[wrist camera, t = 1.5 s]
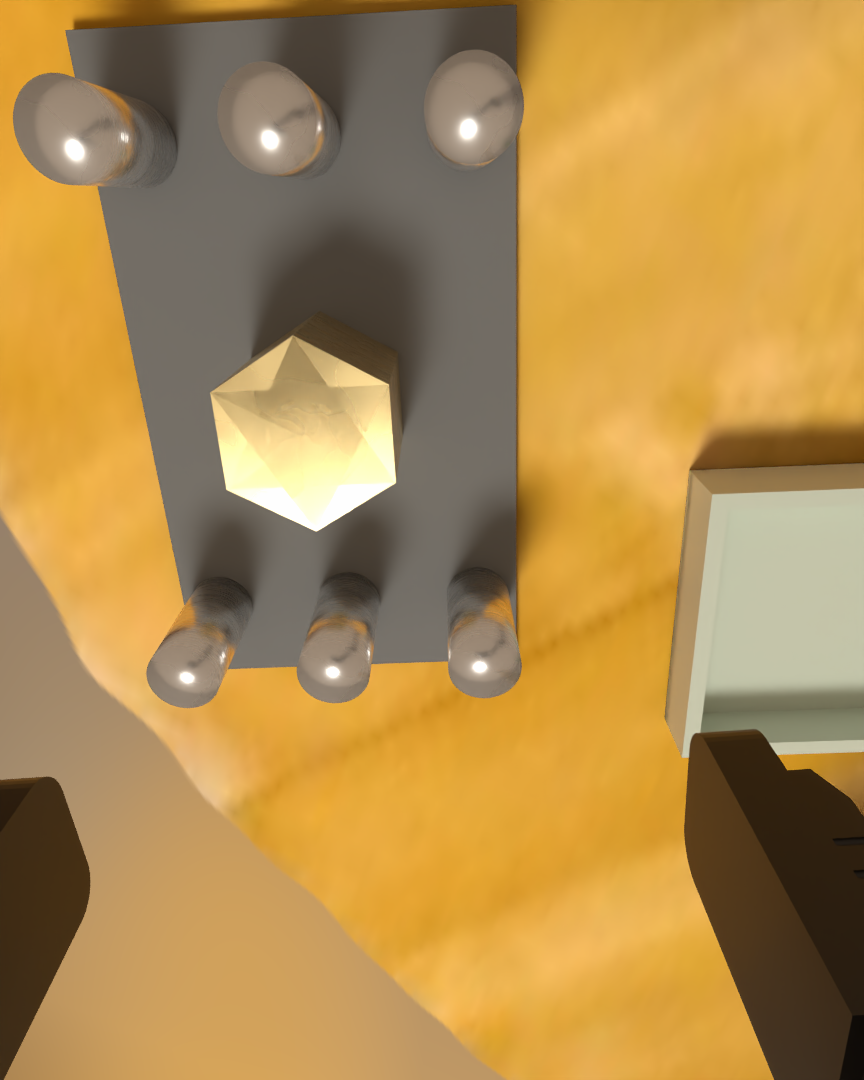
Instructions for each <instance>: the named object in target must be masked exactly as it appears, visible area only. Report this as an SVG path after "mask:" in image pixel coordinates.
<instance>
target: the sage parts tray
mask: <svg viewBox="0 0 864 1080" xmlns="http://www.w3.org/2000/svg"><path fill="white" fill-rule="evenodd" d="M665 720H666V722H667V725H668V727H669V729H670V732H671V734H672V736H673V738H674V741H675V743H676V745H677V748H678V750H679V752H680V754H681V757H682V758H686V757H689V748H690V742H691V738H692V736H693V735H694V734H695V733H703V732H717V731H732V730H746V729H757V730H759V731H760V732H761V733H762V734H763V735H764V736H765V738H766V739H767V741H768V742H769V744H770V745H771V747H772V748H773V750H774V751H775V753H776V754H777V755H781V754H813V753H845V752H864V463H853V464H829V465H805V466H780V467H756V468H731V469H707V470H689V480H688V490H687V500H686V510H685V520H684V530H683V540H682V550H681V560H680V570H679V580H678V590H677V600H676V610H675V620H674V630H673V640H672V650H671V660H670V669H669V679H668V689H667V699H666V709H665Z"/></svg>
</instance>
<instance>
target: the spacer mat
mask: <svg viewBox="0 0 864 1080" xmlns="http://www.w3.org/2000/svg"><path fill="white" fill-rule="evenodd" d="M65 31H66V36H67V41H68V46H69V50H70V55H71V60H72V65H73V70H74V75H75V78H77V79H80V80H83V81H86V82H89V83H92V84H95V85H98V86H100V87H103V88H106V89H109V90H112V91H115V92H118V93H121V94H124V95H127V96H130V97H133V98H135V99H138V100H141V101H144V102H147V103H149V104H151V105H153V106H154V107H156V108H157V109H158V110H159V111H161V112H162V114H163V115H164V116H165V117H166V118H167V119H168V121H169V123H170V124H171V126H172V128H173V130H174V133H175V136H176V139H177V145H178V156H177V162H176V165H175V168H174V170H173V172H172V173H171V175H170V176H169V177H168V179H166V180H165V181H164V182H163V183H161V184H160V185H157V186H155V187H151V188H129V187H108V186H98V190H99V195H100V200H101V205H102V210H103V214H104V219H105V224H106V229H107V234H108V238H109V243H110V248H111V253H112V258H113V263H114V267H115V272H116V277H117V282H118V287H119V292H120V296H121V301H122V306H123V311H124V316H125V320H126V325H127V330H128V335H129V340H130V345H131V349H132V354H133V359H134V364H135V369H136V373H137V378H138V383H139V388H140V393H141V398H142V402H143V407H144V412H145V417H146V422H147V427H148V431H149V436H150V441H151V446H152V451H153V455H154V460H155V465H156V470H157V475H158V480H159V484H160V489H161V494H162V499H163V504H164V508H165V513H166V518H167V523H168V528H169V533H170V537H171V542H172V547H173V552H174V557H175V562H176V566H177V571H178V576H179V581H180V586H181V590H182V595H183V600H184V605H185V604H186V603H187V601H188V600H189V598H190V596H191V595H192V593H193V592H194V590H195V589H196V587H197V586H198V585H199V584H200V583H201V582H203V581H205V580H207V579H210V578H215V577H223V578H228V579H231V580H234V581H236V582H238V583H239V584H241V585H242V586H243V587H244V588H245V589H246V590H247V591H248V593H249V594H250V596H251V598H252V602H253V613H252V616H251V618H250V620H249V623H248V625H247V627H246V629H245V631H244V634H243V636H242V638H241V640H240V643H239V645H238V647H237V649H236V651H235V654H234V656H233V658H232V660H231V663H230V665H229V667H228V669H240V668H269V667H297V665H298V661H299V658H300V655H301V652H302V648H303V645H304V642H305V638H306V635H307V632H308V628H309V625H310V622H311V619H312V615H313V612H314V609H315V605H316V602H317V599H318V595H319V592H320V589H321V587H322V585H323V584H324V583H325V581H327V580H328V579H329V578H330V577H332V576H334V575H336V574H339V573H345V572H351V573H357V574H360V575H363V576H365V577H366V578H368V579H369V580H370V581H372V582H373V584H374V585H375V586H376V588H377V590H378V592H379V595H380V607H379V614H378V621H377V628H376V635H375V642H374V649H373V656H372V663H371V664H383V663H412V662H441V661H448V629H447V589H448V586H449V584H450V582H451V581H452V579H453V578H454V577H455V576H456V575H457V574H459V573H460V572H462V571H464V570H466V569H469V568H476V567H481V568H487V569H490V570H493V571H494V572H496V573H498V574H499V575H500V576H501V577H502V578H503V579H504V581H505V583H506V585H507V587H508V592H509V598H510V603H511V609H512V614H513V620H514V625H515V631H516V137H515V139H514V141H513V142H512V143H511V145H510V146H509V147H508V148H507V149H506V150H505V151H504V152H503V153H502V154H501V155H499V156H498V157H497V158H495V159H494V160H493V161H491V162H490V163H489V164H487V165H486V166H484V167H483V168H480V169H478V170H475V171H469V172H462V171H457V170H454V169H451V168H449V167H447V166H446V165H444V164H443V163H442V162H441V161H440V160H439V159H438V158H437V157H436V155H435V154H434V152H433V151H432V149H431V147H430V144H429V141H428V136H427V130H426V124H425V116H424V100H425V94H426V90H427V87H428V84H429V82H430V80H431V78H432V76H433V74H434V73H435V71H436V70H437V69H438V68H439V66H440V65H441V64H442V63H443V62H444V61H446V60H447V59H448V58H450V57H451V56H453V55H455V54H457V53H459V52H463V51H466V50H483V51H488V52H490V53H493V54H495V55H497V56H499V57H500V58H501V59H503V60H504V61H505V62H506V63H507V64H508V65H509V66H510V67H511V68H512V70H513V71H514V73H515V74H516V5H502V6H484V7H466V8H449V9H431V10H413V11H396V12H378V13H361V14H343V15H325V16H308V17H290V18H273V19H255V20H237V21H220V22H202V23H184V24H167V25H149V26H132V27H114V28H96V29H79V30H65ZM259 61H265V62H272V63H276V64H279V65H281V66H283V67H285V68H287V69H289V70H290V71H292V72H293V73H294V74H295V75H296V76H298V77H299V78H300V79H301V80H302V81H303V82H304V83H305V84H306V85H308V86H309V87H310V88H311V89H312V90H313V91H314V92H315V93H317V94H318V95H319V96H320V97H321V98H322V99H323V100H324V101H325V102H327V104H328V105H329V106H330V107H331V108H332V110H333V111H334V113H335V115H336V117H337V120H338V122H339V126H340V131H341V146H340V151H339V154H338V157H337V159H336V161H335V162H334V164H333V165H332V167H331V168H330V169H329V170H328V171H327V172H326V173H324V174H323V175H321V176H319V177H317V178H314V179H310V180H299V179H292V178H286V177H280V176H274V175H268V174H262V173H258V172H255V171H253V170H251V169H249V168H247V167H246V166H244V165H243V164H241V163H240V162H239V161H238V160H237V159H236V158H235V157H234V156H233V155H232V154H231V152H230V151H229V150H228V148H227V146H226V144H225V143H224V140H223V138H222V136H221V133H220V129H219V124H218V116H217V112H218V102H219V97H220V94H221V91H222V89H223V86H224V85H225V83H226V81H227V80H228V79H229V77H230V76H231V75H232V74H233V73H234V72H235V71H236V70H238V69H239V68H241V67H243V66H245V65H247V64H250V63H253V62H259ZM319 311H321V312H322V313H324V314H326V315H328V316H330V317H332V318H334V319H336V320H338V321H340V322H342V323H344V324H345V325H347V326H349V327H351V328H353V329H355V330H357V331H359V332H361V333H363V334H365V335H367V336H368V337H370V338H372V339H374V340H376V341H378V342H380V343H382V344H384V345H386V346H388V347H390V348H391V349H393V350H395V351H397V352H398V363H399V379H400V395H401V410H402V426H403V438H402V445H401V451H400V458H399V465H398V472H397V478H396V483H395V484H393V485H391V486H390V487H388V488H386V489H385V490H383V491H381V492H380V493H378V494H377V495H375V496H373V497H372V498H370V499H368V500H367V501H365V502H363V503H362V504H360V505H359V506H357V507H355V508H354V509H352V510H350V511H349V512H347V513H345V514H344V515H342V516H340V517H339V518H337V519H336V520H334V521H332V522H331V523H329V524H327V525H326V526H324V527H322V528H321V529H319V530H317V531H315V530H313V529H310V528H308V527H306V526H304V525H302V524H300V523H298V522H295V521H293V520H291V519H289V518H287V517H285V516H282V515H280V514H278V513H276V512H274V511H272V510H269V509H267V508H265V507H263V506H261V505H259V504H256V503H254V502H252V501H250V500H248V499H246V498H243V497H241V496H239V495H237V494H235V493H233V492H230V491H228V490H227V489H226V483H225V477H224V471H223V466H222V460H221V454H220V448H219V442H218V436H217V430H216V424H215V418H214V412H213V406H212V400H211V395H210V392H211V391H213V390H214V389H215V388H216V387H217V386H219V385H220V384H221V383H222V382H223V381H225V380H226V379H227V378H228V377H229V376H231V375H232V374H233V373H234V372H235V371H237V370H238V369H239V368H240V367H241V366H242V365H244V364H245V363H246V362H247V361H248V360H250V359H251V358H252V357H254V356H255V355H257V354H258V353H260V352H261V351H262V350H264V349H265V348H267V347H268V346H270V345H271V344H273V343H274V342H275V341H277V340H278V339H280V338H281V337H283V336H284V335H286V334H287V333H288V332H290V331H291V330H293V329H294V328H296V327H297V326H299V325H300V324H301V323H303V322H304V321H306V320H307V319H309V318H310V317H312V316H313V315H315V314H316V313H317V312H319Z"/></svg>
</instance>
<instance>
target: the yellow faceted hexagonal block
mask: <svg viewBox="0 0 864 1080" xmlns="http://www.w3.org/2000/svg"><path fill="white" fill-rule="evenodd" d="M210 395H211V400H212V406H213V412H214V418H215V424H216V430H217V436H218V442H219V448H220V454H221V460H222V466H223V471H224V477H225V483H226V489H227V490H228V491H230V492H233V493H235V494H237V495H239V496H241V497H243V498H246V499H248V500H250V501H252V502H254V503H256V504H259V505H261V506H263V507H265V508H267V509H269V510H272V511H274V512H276V513H278V514H280V515H282V516H285V517H287V518H289V519H291V520H293V521H295V522H298V523H300V524H302V525H304V526H306V527H308V528H310V529H313V530H315V531H317V530H319V529H321V528H322V527H324V526H326V525H327V524H329V523H331V522H332V521H334V520H336V519H337V518H339V517H340V516H342V515H344V514H345V513H347V512H349V511H350V510H352V509H354V508H355V507H357V506H359V505H360V504H362V503H363V502H365V501H367V500H368V499H370V498H372V497H373V496H375V495H377V494H378V493H380V492H381V491H383V490H385V489H386V488H388V487H390V486H391V485H393V484H395V483H396V478H397V472H398V465H399V458H400V451H401V445H402V438H403V426H402V410H401V395H400V379H399V363H398V352H397V351H395V350H393V349H391V348H390V347H388V346H386V345H384V344H382V343H380V342H378V341H376V340H374V339H372V338H370V337H368V336H367V335H365V334H363V333H361V332H359V331H357V330H355V329H353V328H351V327H349V326H347V325H345V324H344V323H342V322H340V321H338V320H336V319H334V318H332V317H330V316H328V315H326V314H324V313H322V312H321V311H319V312H317V313H316V314H315V315H313V316H312V317H310V318H309V319H307V320H306V321H304V322H303V323H301V324H300V325H299V326H297V327H296V328H294V329H293V330H291V331H290V332H288V333H287V334H286V335H284V336H283V337H281V338H280V339H278V340H277V341H275V342H274V343H273V344H271V345H270V346H268V347H267V348H265V349H264V350H262V351H261V352H260V353H258V354H257V355H255V356H254V357H252V358H251V359H250V360H248V361H247V362H246V363H245V364H244V365H242V366H241V367H240V368H239V369H238V370H237V371H235V372H234V373H233V374H232V375H231V376H229V377H228V378H227V379H226V380H225V381H223V382H222V383H221V384H220V385H219V386H217V387H216V388H215V389H214V390H213V391H211V392H210Z"/></svg>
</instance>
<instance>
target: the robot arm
mask: <svg viewBox="0 0 864 1080" xmlns="http://www.w3.org/2000/svg"><path fill="white" fill-rule="evenodd" d="M684 834H685V845H686V852H687V858H688V863H689V867H690V871H691V874H692V877H693V880H694V883H695V885H696V888H697V890H698V893H699V895H700V898H701V900H702V903H703V905H704V908H705V910H706V913H707V915H708V917H709V920H710V922H711V925H712V927H713V930H714V932H715V935H716V937H717V940H718V942H719V945H720V947H721V950H722V952H723V954H724V957H725V959H726V962H727V964H728V967H729V969H730V972H731V974H732V977H733V979H734V982H735V984H736V987H737V989H738V992H739V994H740V996H741V999H742V1001H743V1004H744V1006H745V1009H746V1011H747V1014H748V1016H749V1019H750V1021H751V1024H752V1026H753V1029H754V1031H755V1033H756V1036H757V1038H758V1041H759V1043H760V1046H761V1048H762V1051H763V1053H764V1056H765V1058H766V1061H767V1063H768V1066H769V1068H770V1070H771V1073H772V1075H773V1078H774V1080H864V816H863V815H862V814H861V812H860V811H859V809H858V808H857V807H856V805H855V804H854V803H853V801H852V800H851V799H850V798H849V797H848V796H846V795H845V794H844V793H842V792H841V791H839V790H838V789H837V788H835V787H834V786H833V785H831V784H830V783H829V782H827V781H826V780H825V779H823V778H822V777H820V776H819V775H818V774H816V773H815V772H814V771H812V770H811V769H802V770H788V771H787V769H786V768H785V766H784V765H783V763H782V762H781V760H780V759H779V757H778V756H777V754H776V753H775V751H774V750H773V748H772V747H771V745H770V744H769V742H768V741H767V739H766V738H765V736H764V735H763V734H762V733H761V732H760V731H759V730H757V729H746V730H732V731H717V732H703V733H695V734H694V735H693V736H692V738H691V742H690V748H689V763H688V779H687V794H686V809H685V825H684ZM89 893H90V872H89V866H88V863H87V860H86V857H85V854H84V851H83V848H82V845H81V843H80V840H79V837H78V834H77V831H76V828H75V825H74V822H73V819H72V817H71V814H70V811H69V808H68V805H67V803H66V799H65V796H64V794H63V791H62V788H61V786H60V785H59V783H58V782H57V781H56V780H55V779H54V778H52V777H36V778H21V779H7V780H0V1080H4V1078H5V1076H6V1074H7V1072H8V1070H9V1067H10V1066H11V1064H12V1061H13V1059H14V1058H15V1056H16V1054H17V1052H18V1049H19V1047H20V1045H21V1043H22V1041H23V1039H24V1037H25V1035H26V1033H27V1031H28V1029H29V1027H30V1025H31V1023H32V1021H33V1019H34V1017H35V1015H36V1013H37V1011H38V1009H39V1007H40V1005H41V1003H42V1001H43V999H44V997H45V995H46V993H47V991H48V988H49V986H50V985H51V983H52V981H53V979H54V976H55V974H56V972H57V970H58V968H59V966H60V964H61V962H62V960H63V958H64V956H65V954H66V952H67V950H68V948H69V946H70V944H71V942H72V940H73V938H74V936H75V933H76V932H77V930H78V928H79V925H80V924H81V922H82V919H83V917H84V914H85V912H86V908H87V904H88V900H89Z"/></svg>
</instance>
